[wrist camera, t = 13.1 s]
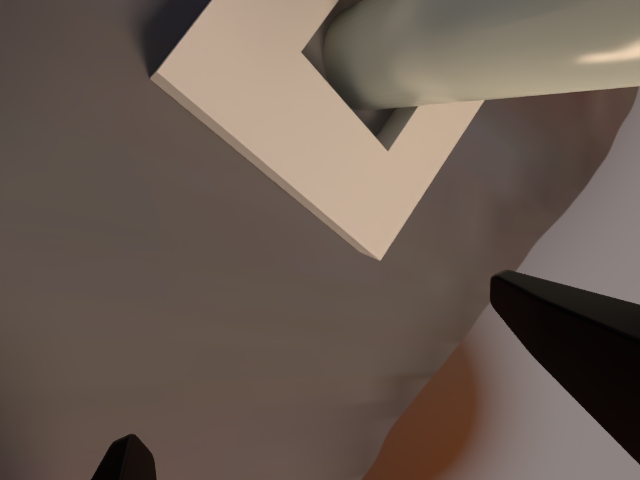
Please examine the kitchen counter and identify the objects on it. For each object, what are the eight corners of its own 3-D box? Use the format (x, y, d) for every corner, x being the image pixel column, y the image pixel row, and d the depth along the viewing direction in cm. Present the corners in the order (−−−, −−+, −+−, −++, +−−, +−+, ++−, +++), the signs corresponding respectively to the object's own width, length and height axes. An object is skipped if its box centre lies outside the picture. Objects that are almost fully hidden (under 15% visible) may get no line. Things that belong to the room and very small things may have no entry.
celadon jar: (395, 115, 21) (756, 91, 10) (319, 105, 19) (684, 56, 7) (405, 17, 20) (828, -141, 9) (326, -7, 18) (772, -278, 6)
